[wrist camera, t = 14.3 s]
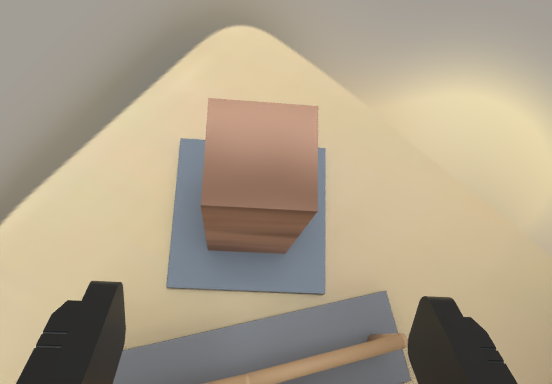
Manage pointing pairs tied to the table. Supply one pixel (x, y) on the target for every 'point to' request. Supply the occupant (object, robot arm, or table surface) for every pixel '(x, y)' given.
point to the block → (258, 175)
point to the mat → (239, 265)
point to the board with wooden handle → (282, 350)
